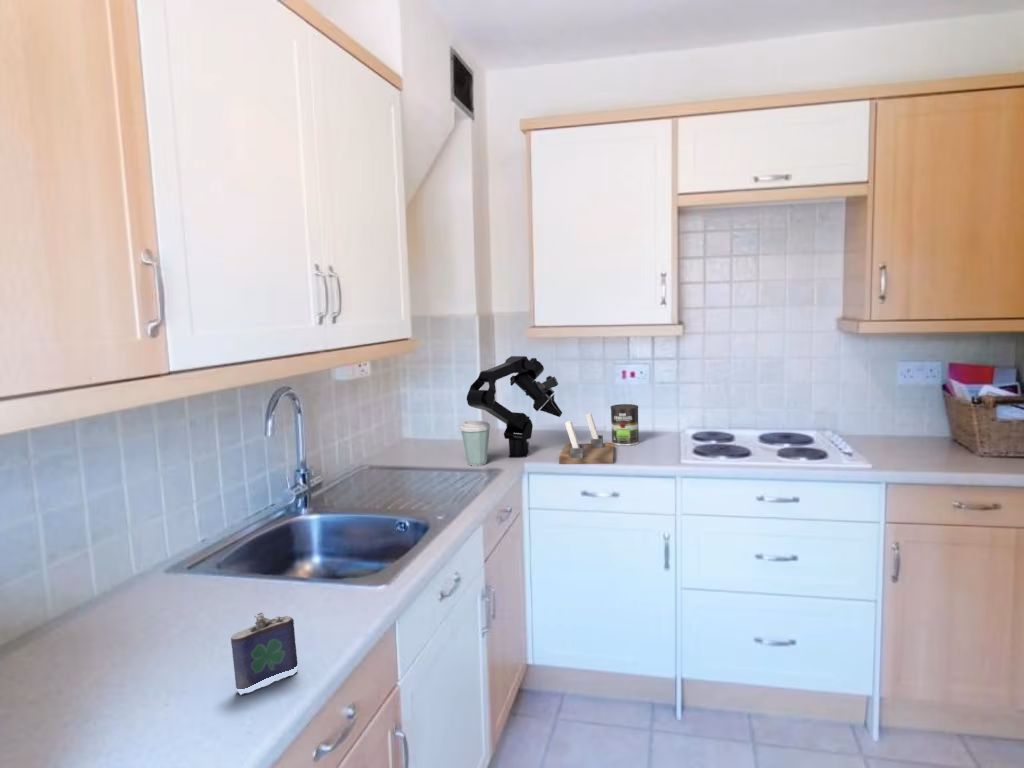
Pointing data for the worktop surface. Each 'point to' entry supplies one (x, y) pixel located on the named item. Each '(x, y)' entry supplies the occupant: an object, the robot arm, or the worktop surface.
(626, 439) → the coffee can
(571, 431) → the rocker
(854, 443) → the worktop surface
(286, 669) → the flask
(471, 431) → the disposable coffee cup
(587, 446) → the switch board
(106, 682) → the worktop surface
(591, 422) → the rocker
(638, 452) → the worktop surface
